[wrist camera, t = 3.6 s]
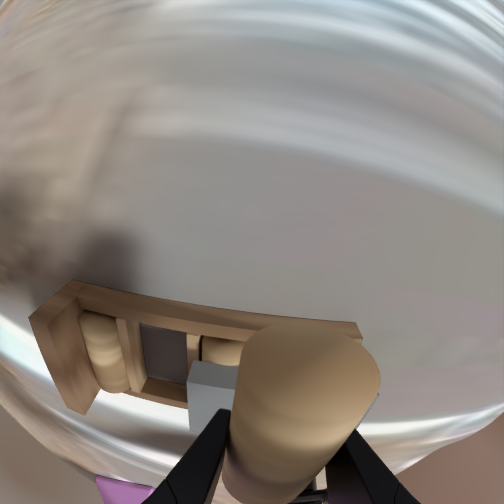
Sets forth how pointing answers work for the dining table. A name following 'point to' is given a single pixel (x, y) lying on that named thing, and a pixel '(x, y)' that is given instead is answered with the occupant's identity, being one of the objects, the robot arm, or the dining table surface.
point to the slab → (213, 392)
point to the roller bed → (170, 317)
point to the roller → (293, 408)
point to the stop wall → (66, 348)
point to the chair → (122, 491)
